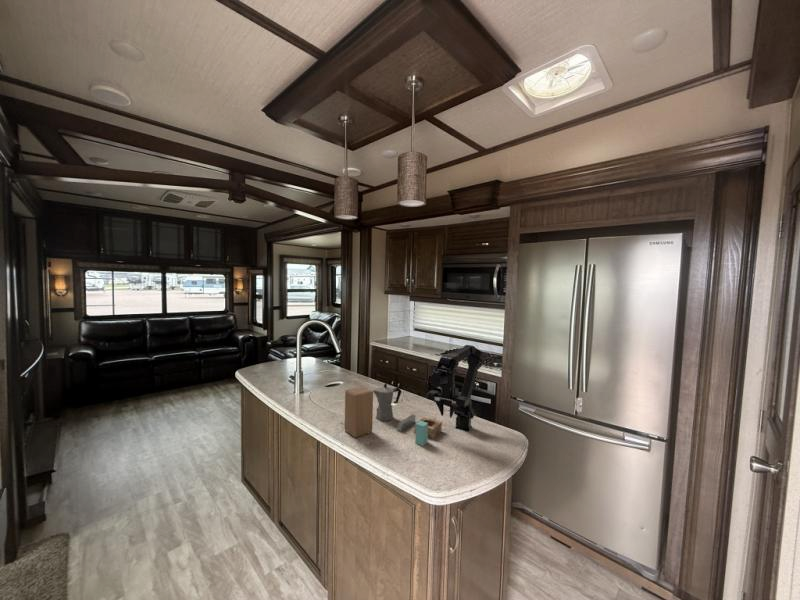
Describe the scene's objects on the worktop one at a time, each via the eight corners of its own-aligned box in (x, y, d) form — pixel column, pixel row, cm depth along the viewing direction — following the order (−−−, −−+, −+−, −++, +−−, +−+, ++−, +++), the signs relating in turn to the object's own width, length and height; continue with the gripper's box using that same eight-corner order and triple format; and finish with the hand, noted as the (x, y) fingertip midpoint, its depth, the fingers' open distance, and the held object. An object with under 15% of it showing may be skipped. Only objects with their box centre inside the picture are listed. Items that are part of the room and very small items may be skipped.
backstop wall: (415, 422, 163) (415, 415, 163) (401, 432, 151) (401, 425, 151) (411, 421, 164) (412, 414, 164) (397, 431, 152) (397, 423, 152)
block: (343, 430, 151) (344, 389, 150) (361, 425, 157) (362, 385, 157) (354, 438, 143) (355, 395, 143) (373, 432, 150) (374, 390, 149)
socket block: (441, 431, 153) (441, 421, 153) (432, 439, 145) (433, 429, 144) (423, 426, 158) (424, 417, 158) (414, 433, 150) (414, 424, 149)
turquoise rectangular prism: (427, 442, 141) (428, 422, 141) (423, 446, 138) (423, 426, 138) (419, 440, 143) (420, 420, 143) (415, 444, 140) (415, 423, 140)
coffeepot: (374, 422, 160) (375, 387, 160) (370, 415, 169) (371, 382, 169) (403, 419, 165) (404, 385, 164) (398, 413, 174) (398, 380, 173)
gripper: (473, 382, 147) (472, 415, 148) (436, 375, 157) (435, 406, 158) (464, 388, 138) (463, 423, 138) (426, 380, 148) (425, 414, 148)
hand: (446, 416), depth 146 cm, fingers open, 4 cm apart
